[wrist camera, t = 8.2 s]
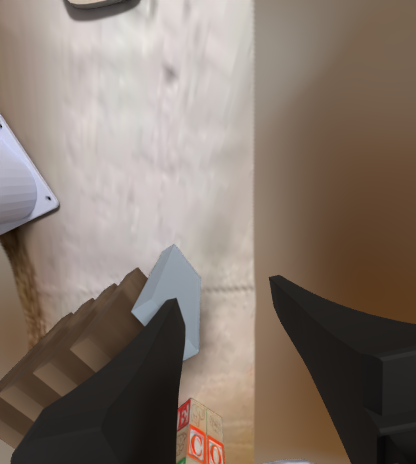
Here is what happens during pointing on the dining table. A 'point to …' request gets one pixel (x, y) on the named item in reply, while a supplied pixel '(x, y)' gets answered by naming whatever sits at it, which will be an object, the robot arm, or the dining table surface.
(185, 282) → the domino
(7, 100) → the dining table surface
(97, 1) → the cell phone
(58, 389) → the domino
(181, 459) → the stack of blocks
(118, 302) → the domino
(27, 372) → the domino
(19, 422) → the domino
